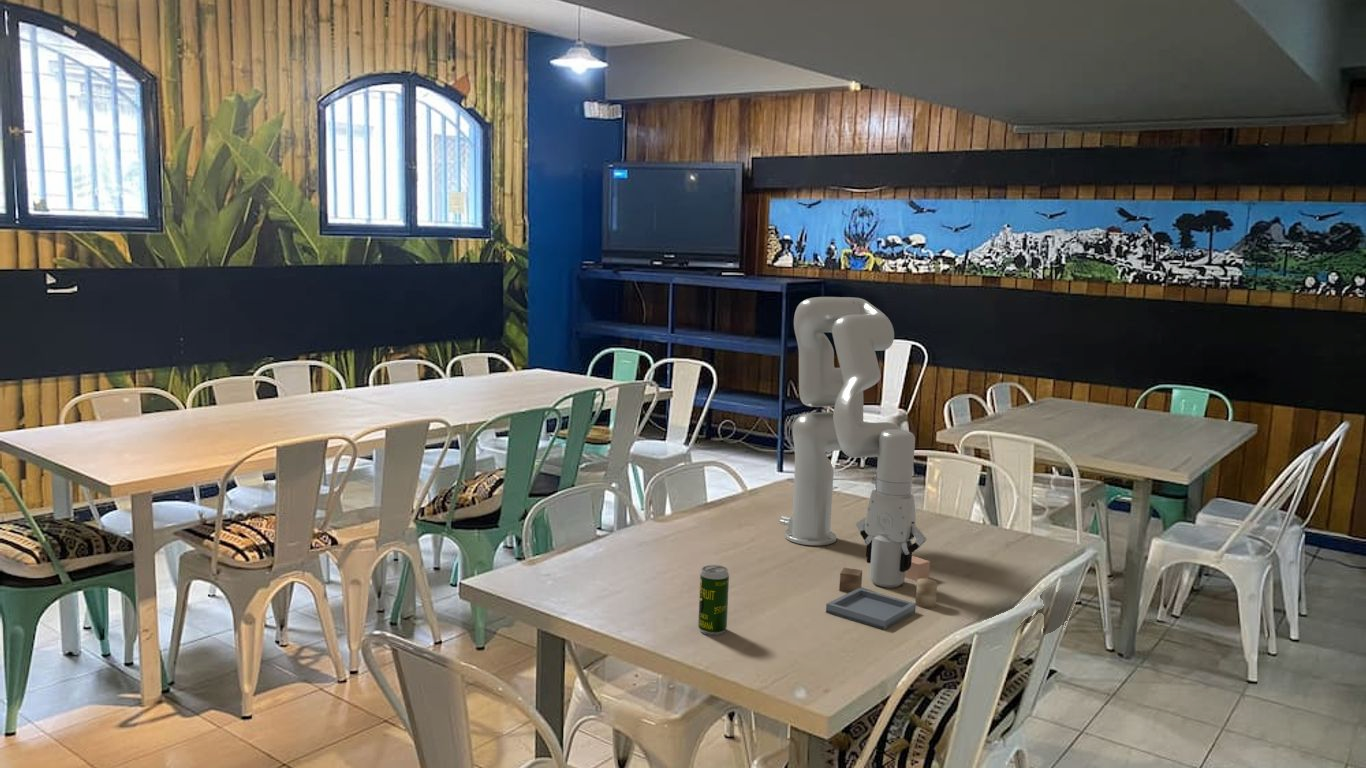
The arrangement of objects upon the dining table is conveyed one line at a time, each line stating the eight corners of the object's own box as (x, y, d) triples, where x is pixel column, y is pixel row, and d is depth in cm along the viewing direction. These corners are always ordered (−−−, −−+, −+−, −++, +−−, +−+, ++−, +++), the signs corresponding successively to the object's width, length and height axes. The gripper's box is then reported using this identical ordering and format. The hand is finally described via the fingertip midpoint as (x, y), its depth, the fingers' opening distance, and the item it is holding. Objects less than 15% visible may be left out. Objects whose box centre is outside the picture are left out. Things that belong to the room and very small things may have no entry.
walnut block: (839, 591, 219) (840, 573, 218) (842, 585, 222) (843, 567, 222) (857, 594, 217) (859, 575, 217) (861, 588, 221) (862, 570, 220)
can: (904, 590, 220) (908, 536, 218) (868, 586, 222) (872, 533, 220) (904, 579, 227) (908, 526, 225) (869, 575, 229) (873, 523, 227)
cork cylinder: (912, 604, 212) (913, 581, 211) (921, 599, 215) (922, 576, 214) (929, 609, 209) (931, 586, 209) (938, 604, 212) (940, 581, 212)
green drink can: (710, 622, 198) (712, 562, 196) (732, 630, 195) (735, 569, 193) (692, 630, 194) (694, 569, 192) (714, 638, 191) (717, 576, 189)
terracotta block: (899, 575, 230) (900, 558, 229) (910, 572, 233) (911, 555, 232) (917, 582, 226) (918, 564, 226) (928, 578, 229) (929, 561, 228)
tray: (825, 612, 206) (826, 603, 205) (858, 596, 216) (859, 587, 215) (883, 629, 198) (884, 620, 197) (915, 612, 208) (915, 603, 207)
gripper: (849, 482, 224) (844, 560, 226) (922, 498, 213) (916, 580, 216) (866, 476, 229) (861, 552, 232) (938, 491, 218) (932, 571, 221)
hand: (887, 565), depth 224 cm, fingers closed on can, 7 cm apart
